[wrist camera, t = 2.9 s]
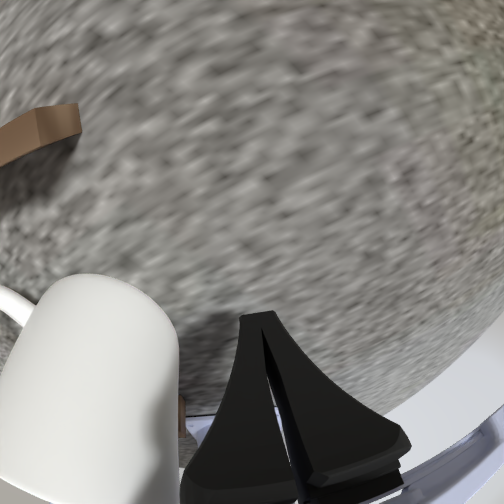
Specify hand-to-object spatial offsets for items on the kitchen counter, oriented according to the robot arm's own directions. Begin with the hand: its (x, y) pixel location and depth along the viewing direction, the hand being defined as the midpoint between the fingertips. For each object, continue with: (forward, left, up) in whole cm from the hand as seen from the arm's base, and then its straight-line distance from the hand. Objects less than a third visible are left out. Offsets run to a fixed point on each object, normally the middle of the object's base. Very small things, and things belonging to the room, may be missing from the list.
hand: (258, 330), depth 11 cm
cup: (0, +9, -3) cm, 10 cm away
